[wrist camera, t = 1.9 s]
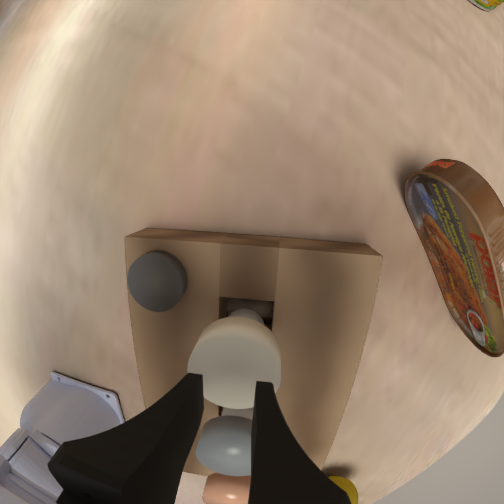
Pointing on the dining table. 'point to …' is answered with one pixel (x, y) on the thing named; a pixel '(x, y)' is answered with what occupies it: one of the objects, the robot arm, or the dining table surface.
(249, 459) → the knob slate
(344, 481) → the lemon
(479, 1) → the supplement bottle
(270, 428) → the robot arm
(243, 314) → the knob cream
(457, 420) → the dining table surface
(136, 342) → the board
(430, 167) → the tin
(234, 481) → the peach pink ball
